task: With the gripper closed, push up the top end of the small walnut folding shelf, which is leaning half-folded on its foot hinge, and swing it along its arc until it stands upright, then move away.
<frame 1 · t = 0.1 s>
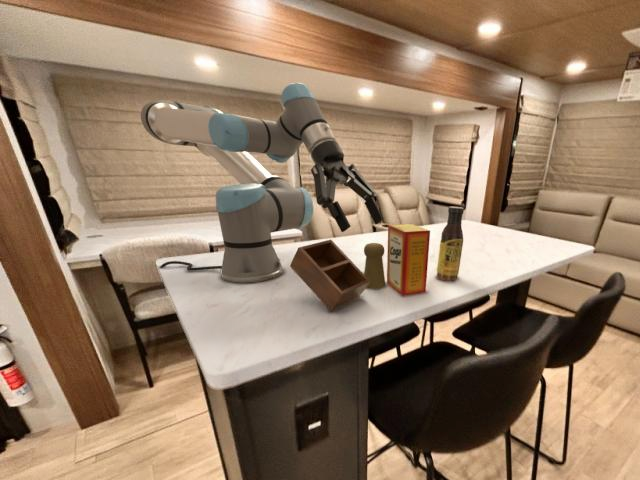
hand: (364, 225, 78), 15 cm above the table, tool tilted 35°, fingers open, 13 cm apart
sauce bottle: (447, 278, 89), on the table
baking soda box: (405, 288, 81), on the table
walnut shelf: (330, 273, 69), point 6 cm above the table, hinge at 35.0°
cork: (374, 285, 82), on the table
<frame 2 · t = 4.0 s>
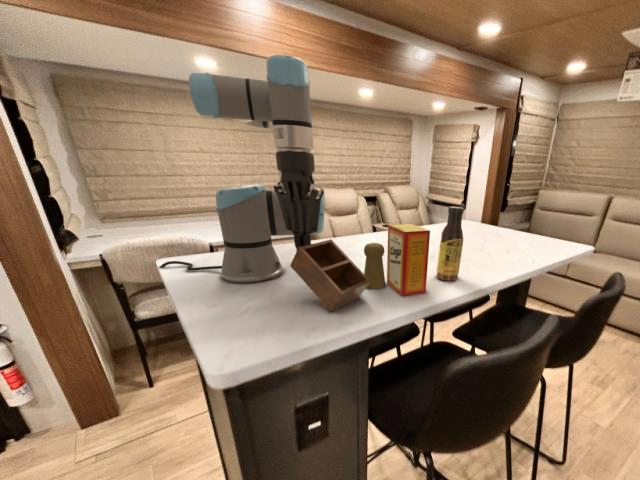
hand: (304, 262, 72), 8 cm above the table, tool pointing down, fingers closed
walnut shelf: (331, 273, 69), point 6 cm above the table, hinge at 35.4°, touching gripper
everything else where it was.
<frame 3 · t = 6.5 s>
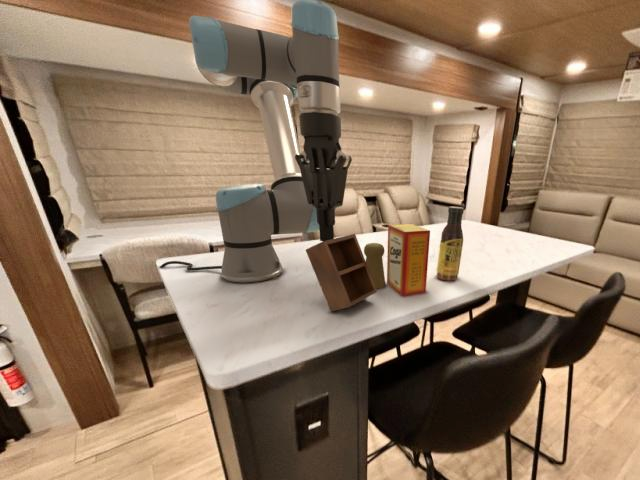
hand: (327, 240, 66), 14 cm above the table, tool pointing down, fingers closed
walnut shelf: (343, 272, 67), point 8 cm above the table, hinge at 64.0°, touching gripper
everything else where it was.
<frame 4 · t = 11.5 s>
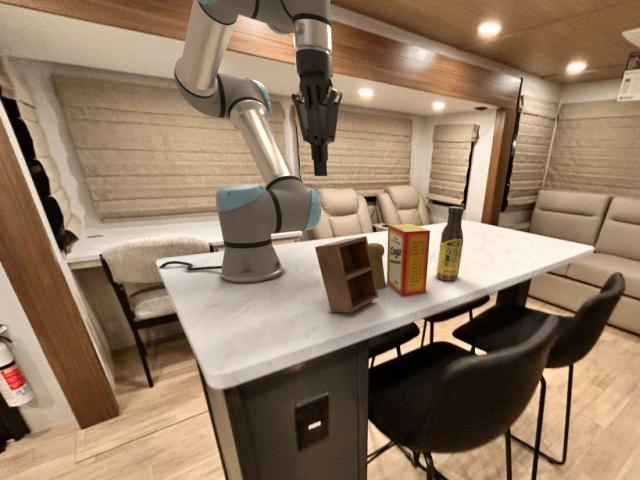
hand: (320, 175, 73), 26 cm above the table, tool pointing down, fingers closed
walnut shelf: (348, 273, 67), point 7 cm above the table, hinge at 76.0°
everything else where it was.
at the end: walnut shelf at +76° (first picture: +35°) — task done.
